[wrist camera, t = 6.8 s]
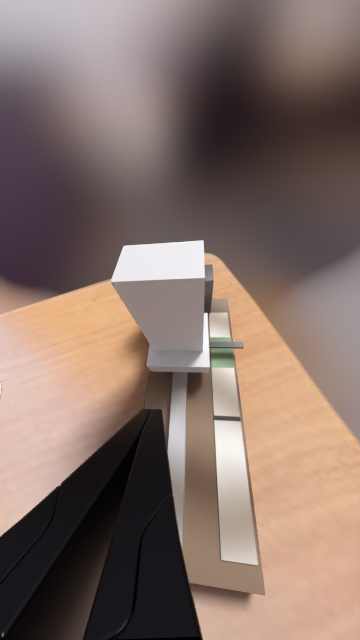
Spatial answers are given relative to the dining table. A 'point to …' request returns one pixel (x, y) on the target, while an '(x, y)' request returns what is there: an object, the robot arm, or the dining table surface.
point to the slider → (168, 303)
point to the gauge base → (210, 462)
